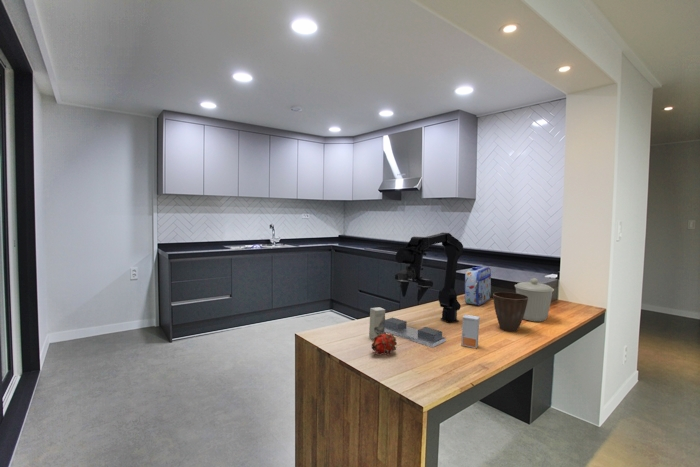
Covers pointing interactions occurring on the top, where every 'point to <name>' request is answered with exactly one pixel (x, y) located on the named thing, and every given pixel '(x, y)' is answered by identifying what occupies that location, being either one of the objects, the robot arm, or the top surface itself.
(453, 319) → the robot arm
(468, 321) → the skincare box
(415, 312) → the top surface
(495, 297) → the plant pot
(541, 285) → the canister
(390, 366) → the top surface
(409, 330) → the rail plate
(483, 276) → the lunch box
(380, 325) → the box
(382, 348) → the dragon fruit
